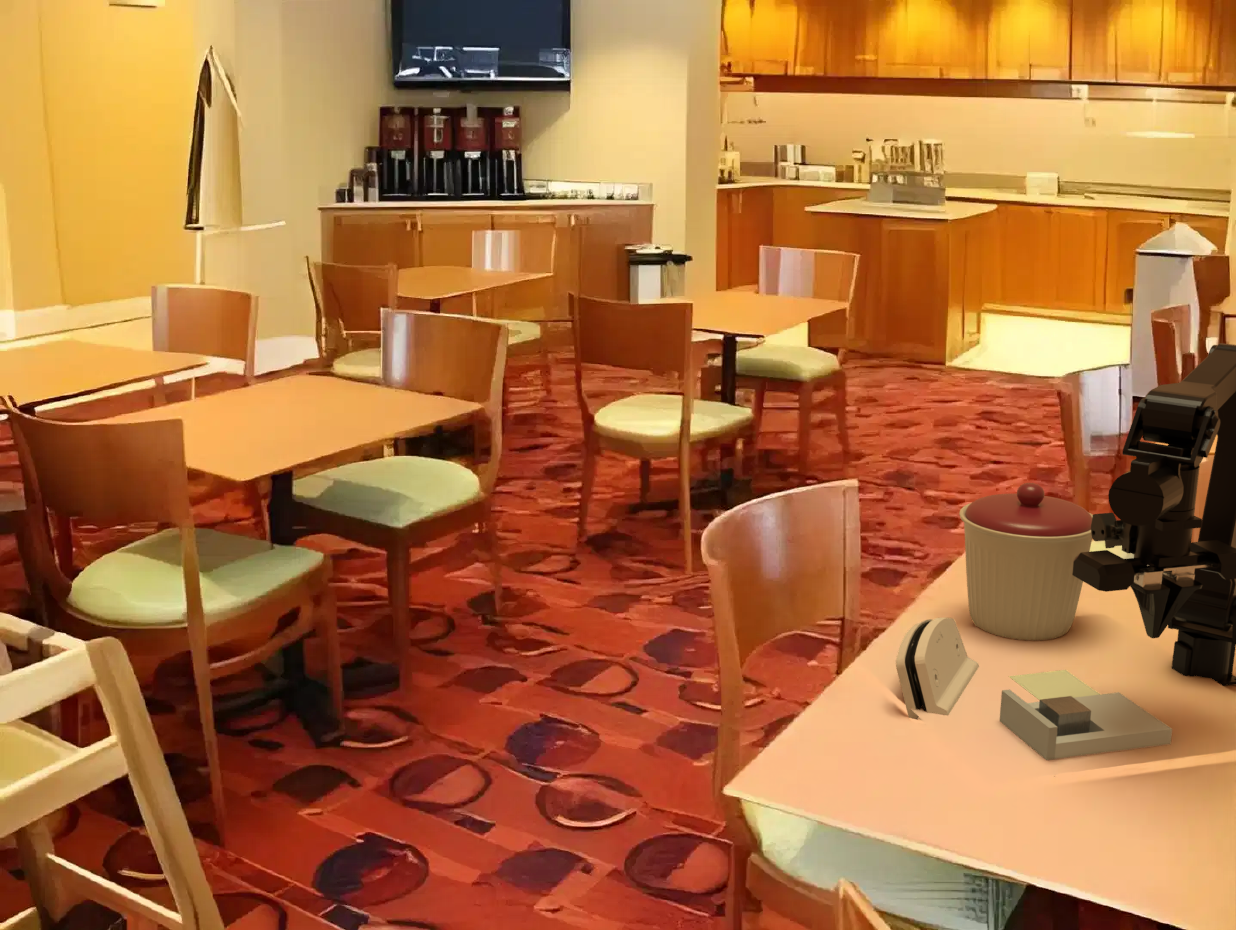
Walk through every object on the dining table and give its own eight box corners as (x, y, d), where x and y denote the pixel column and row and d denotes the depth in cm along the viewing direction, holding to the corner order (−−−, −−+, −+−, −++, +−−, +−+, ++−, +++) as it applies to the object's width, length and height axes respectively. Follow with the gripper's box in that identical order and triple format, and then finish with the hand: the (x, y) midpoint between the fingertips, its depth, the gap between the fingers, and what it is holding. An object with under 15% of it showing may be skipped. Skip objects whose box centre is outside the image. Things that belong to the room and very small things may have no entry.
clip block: (1071, 696, 154) (1039, 699, 153) (1091, 710, 151) (1059, 714, 150) (1067, 736, 156) (1036, 740, 155) (1087, 751, 152) (1055, 755, 151)
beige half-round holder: (950, 726, 158) (926, 646, 157) (912, 731, 160) (888, 652, 159) (982, 674, 172) (960, 600, 171) (947, 679, 175) (925, 606, 174)
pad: (1065, 678, 171) (1065, 669, 171) (1101, 705, 163) (1102, 695, 163) (1007, 685, 169) (1008, 676, 169) (1042, 712, 161) (1043, 703, 161)
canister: (968, 599, 198) (977, 460, 193) (1097, 620, 190) (1111, 475, 185) (938, 642, 182) (947, 492, 177) (1077, 666, 175) (1092, 510, 169)
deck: (1116, 715, 161) (1120, 676, 159) (1169, 753, 151) (1174, 712, 150) (998, 730, 157) (1001, 690, 156) (1045, 770, 148) (1049, 728, 146)
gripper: (1193, 479, 158) (1179, 604, 163) (1051, 490, 154) (1040, 619, 158) (1259, 506, 148) (1242, 639, 152) (1108, 518, 144) (1095, 655, 148)
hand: (1152, 636), depth 153 cm, fingers closed
